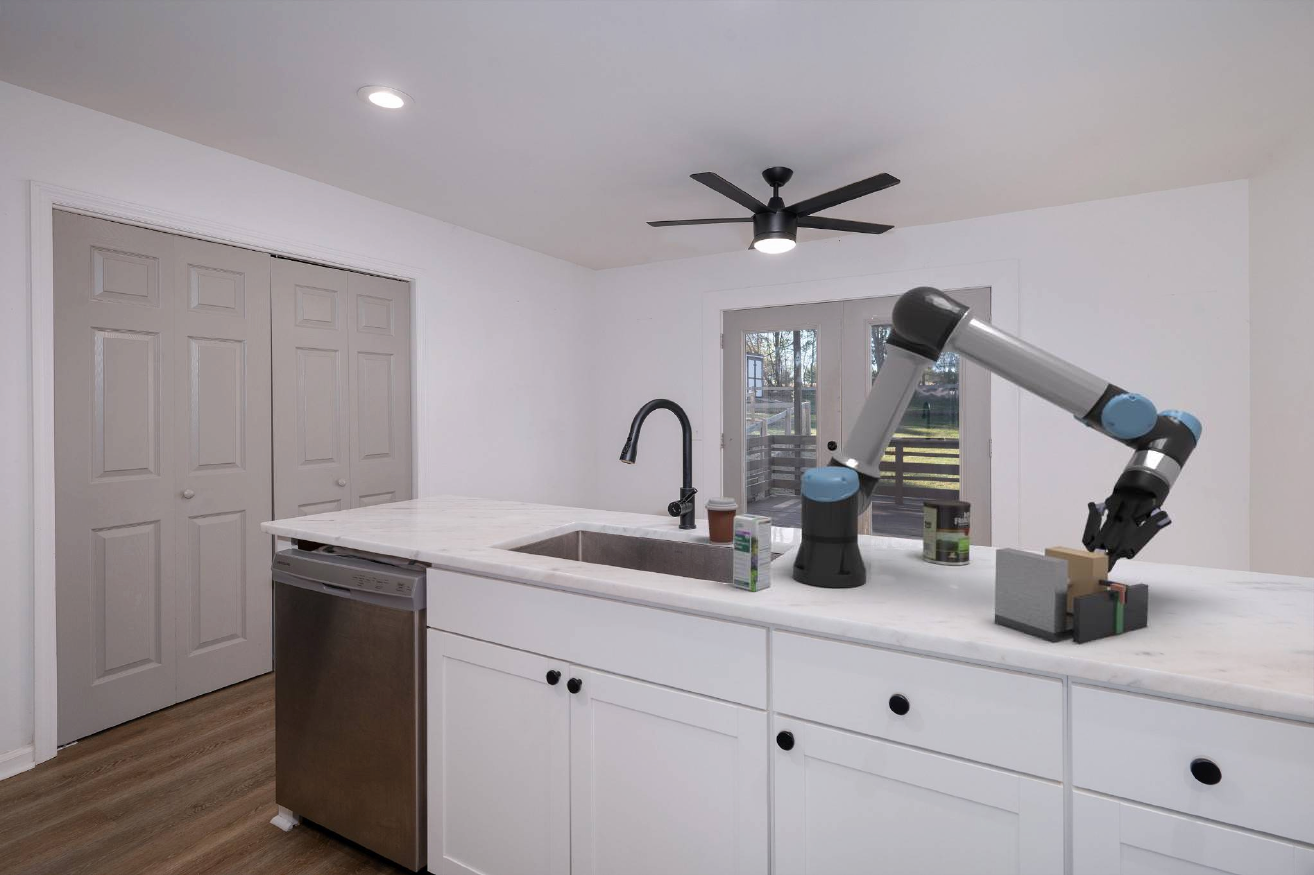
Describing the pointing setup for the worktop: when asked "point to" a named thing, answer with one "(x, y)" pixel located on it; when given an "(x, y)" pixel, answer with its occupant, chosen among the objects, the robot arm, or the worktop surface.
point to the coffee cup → (721, 520)
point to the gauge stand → (1059, 601)
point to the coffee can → (946, 532)
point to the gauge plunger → (1084, 573)
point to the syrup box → (752, 552)
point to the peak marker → (1121, 592)
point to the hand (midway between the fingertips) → (1087, 583)
